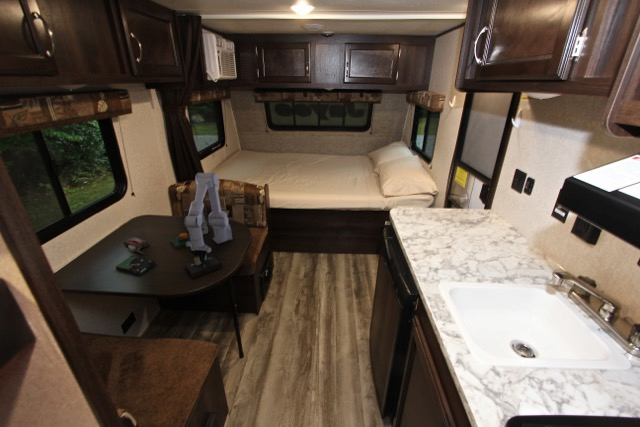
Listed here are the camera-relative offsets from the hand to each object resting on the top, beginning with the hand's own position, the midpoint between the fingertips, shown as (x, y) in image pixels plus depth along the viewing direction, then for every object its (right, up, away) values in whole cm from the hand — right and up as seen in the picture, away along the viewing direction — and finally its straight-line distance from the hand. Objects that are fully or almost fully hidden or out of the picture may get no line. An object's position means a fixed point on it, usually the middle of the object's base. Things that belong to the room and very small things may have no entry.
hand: (201, 260), depth 148 cm
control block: (-19, +7, +23) cm, 30 cm away
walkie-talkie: (-42, +4, +17) cm, 45 cm away
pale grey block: (0, -1, 0) cm, 1 cm away
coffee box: (-14, +12, +35) cm, 39 cm away
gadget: (+1, -4, +1) cm, 4 cm away
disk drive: (-33, -4, 0) cm, 33 cm away
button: (-19, +10, +21) cm, 30 cm away
